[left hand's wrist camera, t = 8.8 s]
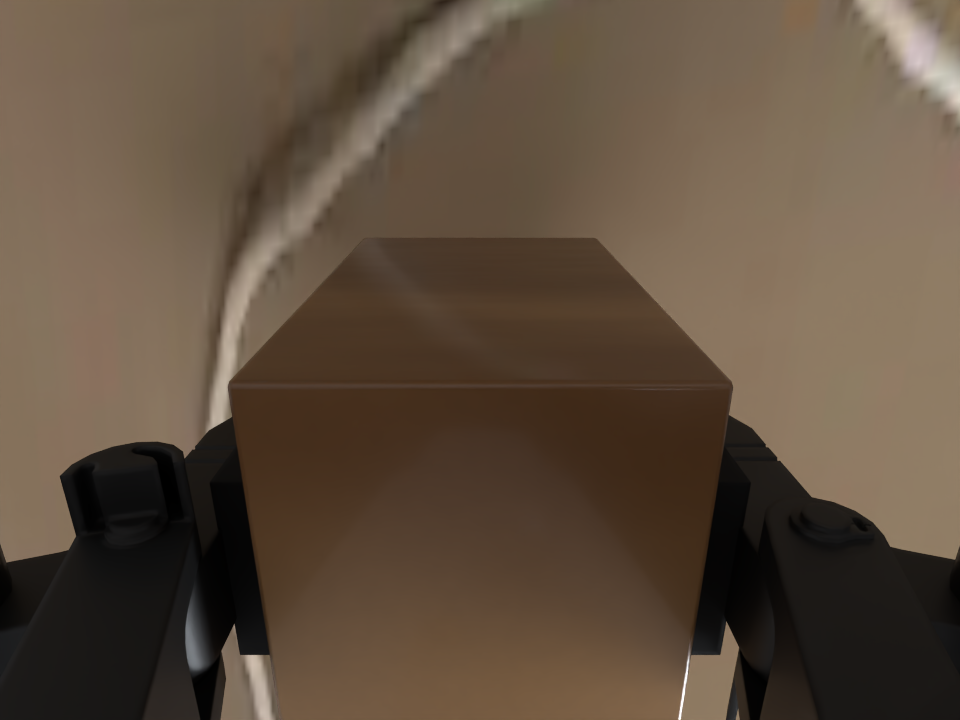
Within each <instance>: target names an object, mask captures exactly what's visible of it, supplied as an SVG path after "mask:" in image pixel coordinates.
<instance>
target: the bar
mask: <svg viewBox="0 0 960 720" xmlns="http://www.w3.org/2000/svg"><path fill="white" fill-rule="evenodd" d="M732 391H733V385H732V382H731V381H730V380H729V378H728V377H727V376H726V375H725V374H724V373H723V372H722V371H721V370H720V369H719V368H718V367H717V366H716V365H715V364H714V363H713V362H712V360H711V359H710V358H709V357H708V356H707V355H706V354H705V353H704V352H703V351H702V350H701V349H700V348H699V347H698V346H697V345H696V344H695V342H694V341H693V340H692V339H691V338H690V337H689V336H688V335H687V334H686V333H685V332H684V331H683V330H682V329H681V328H680V327H679V326H678V324H677V323H676V322H675V321H674V320H673V319H672V318H671V317H670V316H669V315H668V314H667V313H666V312H665V311H664V310H663V309H662V308H661V306H660V305H659V304H658V303H657V302H656V301H655V300H654V299H653V298H652V297H651V296H650V295H649V294H648V293H647V292H646V291H645V290H644V288H643V287H642V286H641V285H640V284H639V283H638V282H637V281H636V280H635V279H634V278H633V277H632V276H631V275H630V274H629V273H628V272H627V271H626V269H625V268H624V267H623V266H622V265H621V264H620V263H619V262H618V261H617V260H616V259H615V258H614V257H613V256H612V255H611V254H610V253H609V251H608V250H607V249H606V248H605V247H604V246H603V245H602V244H601V243H600V242H599V241H598V240H597V239H595V238H365V239H363V240H362V241H361V242H360V243H359V245H358V246H357V247H356V248H355V249H354V250H353V251H352V252H351V253H350V254H349V255H348V256H347V257H346V258H345V259H344V260H343V261H342V263H341V264H340V265H339V266H338V267H337V268H336V269H335V270H334V271H333V272H332V273H331V274H330V275H329V276H328V277H327V278H326V280H325V281H324V282H323V283H322V284H321V285H320V286H319V287H318V288H317V289H316V290H315V291H314V292H313V293H312V294H311V295H310V297H309V298H308V299H307V300H306V301H305V302H304V303H303V304H302V305H301V306H300V307H299V308H298V309H297V310H296V311H295V312H294V313H293V315H292V316H291V317H290V318H289V319H288V320H287V321H286V322H285V323H284V324H283V325H282V326H281V327H280V328H279V329H278V330H277V332H276V333H275V334H274V335H273V336H272V337H271V338H270V339H269V340H268V341H267V342H266V343H265V344H264V345H263V346H262V347H261V349H260V350H259V351H258V352H257V353H256V354H255V355H254V356H253V357H252V358H251V359H250V360H249V361H248V362H247V363H246V364H245V365H244V367H243V368H242V369H241V370H240V371H239V372H238V373H237V374H236V375H235V376H234V377H233V378H232V379H231V380H230V381H229V384H228V392H229V398H230V405H231V411H232V418H233V424H234V430H235V437H236V443H237V449H238V456H239V462H240V469H241V475H242V481H243V488H244V494H245V500H246V507H247V513H248V520H249V526H250V532H251V539H252V545H253V551H254V558H255V564H256V571H257V577H258V583H259V590H260V596H261V602H262V609H263V615H264V621H265V628H266V634H267V641H268V647H269V653H270V660H271V666H272V672H273V679H274V685H275V692H276V698H277V704H278V711H279V717H280V720H681V715H682V708H683V702H684V696H685V689H686V683H687V677H688V670H689V664H690V658H691V651H692V645H693V639H694V632H695V626H696V619H697V613H698V607H699V600H700V594H701V588H702V581H703V575H704V569H705V562H706V556H707V550H708V543H709V537H710V531H711V524H712V518H713V512H714V505H715V499H716V493H717V486H718V480H719V474H720V467H721V461H722V455H723V448H724V442H725V436H726V429H727V423H728V416H729V410H730V404H731V397H732Z"/></svg>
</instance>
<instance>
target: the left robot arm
mask: <svg viewBox="0 0 960 720" xmlns="http://www.w3.org/2000/svg"><path fill="white" fill-rule="evenodd" d="M60 479H61V483H62V486H63V490H64V493H65V497H66V501H67V504H68V508H69V512H70V515H71V519H72V522H73V526H74V530H75V533H76V538H75V539H74V541H73V543H72V545H71V547H70V549H69V550H67V551H63V552H59V553H54V554H49V555H44V556H38V557H33V558H28V559H23V560H18V561H12V562H7V563H6V560H5V557H4V554H3V551H2V548H1V545H0V720H220V718H221V711H222V704H223V697H224V689H225V682H226V676H225V668H224V662H223V657H222V652H221V650H222V648H223V646H224V644H225V642H226V640H227V638H228V636H229V634H230V631H231V629H232V627H233V625H234V623H235V629H236V634H237V640H238V645H239V651H240V655H270V653H269V647H268V641H267V634H266V628H265V621H264V615H263V609H262V602H261V596H260V590H259V583H258V577H257V571H256V564H255V558H254V551H253V545H252V539H251V532H250V526H249V520H248V513H247V507H246V500H245V494H244V488H243V481H242V475H241V469H240V462H239V456H238V449H237V443H236V437H235V430H234V424H233V418H232V417H231V418H230V419H228V420H226V421H225V422H223V423H221V424H219V425H218V426H216V427H214V428H213V429H211V430H209V431H208V432H207V433H206V435H205V436H204V437H203V438H202V439H201V440H200V442H199V443H198V444H197V445H196V446H195V450H192V451H191V452H190V453H189V454H188V456H187V457H186V458H185V459H184V455H183V451H181V450H180V449H178V448H177V447H176V446H174V445H171V444H166V443H161V442H136V443H130V444H125V445H120V446H114V447H111V448H108V449H105V450H102V451H99V452H96V453H93V454H91V455H89V456H87V457H85V458H83V459H81V460H80V461H78V462H76V463H74V464H72V465H71V466H70V467H69V468H68V469H67V470H66V471H65V472H64V473H63V474H62V475H60ZM726 621H727V623H728V625H729V627H730V629H731V631H732V633H733V635H734V638H735V640H736V642H737V644H738V646H739V652H738V657H737V662H736V667H735V673H734V678H733V683H732V688H731V693H730V699H729V704H728V710H727V717H726V720H736V715H737V710H739V717H740V720H960V547H959V550H958V553H957V556H956V559H955V560H953V559H948V558H943V557H937V556H932V555H927V554H922V553H916V552H911V551H906V550H901V549H897V548H893V547H890V546H889V544H888V542H887V540H886V538H885V536H884V535H883V534H882V533H881V531H880V530H879V529H878V528H877V527H876V526H875V524H874V523H873V522H871V521H870V520H868V519H867V518H865V517H864V516H862V515H861V514H859V513H857V512H856V511H854V510H852V509H849V508H847V507H844V506H842V505H839V504H837V503H834V502H830V501H826V500H821V499H817V498H812V497H811V496H810V495H809V494H808V493H807V491H806V490H805V489H804V488H803V487H802V486H801V484H800V483H799V482H798V481H797V480H796V479H795V478H794V476H793V475H792V474H791V473H790V472H789V471H788V469H787V468H786V467H785V466H784V465H783V464H782V463H781V461H777V457H776V456H775V454H774V453H773V452H772V451H771V450H770V449H769V448H768V447H766V444H765V443H764V442H763V441H762V440H761V438H760V437H759V436H758V435H757V434H756V433H755V431H754V430H753V429H752V428H750V427H749V426H747V425H745V424H743V423H742V422H740V421H738V420H736V419H735V418H733V417H731V416H730V415H729V416H728V423H727V429H726V436H725V442H724V448H723V455H722V461H721V467H720V474H719V480H718V486H717V493H716V499H715V505H714V512H713V518H712V524H711V531H710V537H709V543H708V550H707V556H706V562H705V569H704V575H703V581H702V588H701V594H700V600H699V607H698V613H697V619H696V626H695V632H694V639H693V645H692V651H691V655H720V653H721V648H722V642H723V637H724V631H725V626H726Z"/></svg>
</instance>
